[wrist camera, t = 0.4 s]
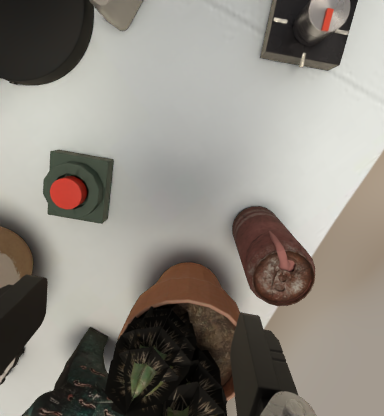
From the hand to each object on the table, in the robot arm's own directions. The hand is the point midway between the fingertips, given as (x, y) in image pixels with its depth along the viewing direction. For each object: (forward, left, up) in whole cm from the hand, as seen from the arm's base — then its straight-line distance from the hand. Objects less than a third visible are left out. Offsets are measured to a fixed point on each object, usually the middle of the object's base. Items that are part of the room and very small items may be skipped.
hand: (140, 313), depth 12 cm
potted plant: (+14, +3, -27) cm, 31 cm away
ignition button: (+2, -13, -23) cm, 26 cm away
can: (+3, +10, -27) cm, 29 cm away
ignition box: (+2, -13, -27) cm, 30 cm away
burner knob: (-20, +10, -24) cm, 32 cm away
